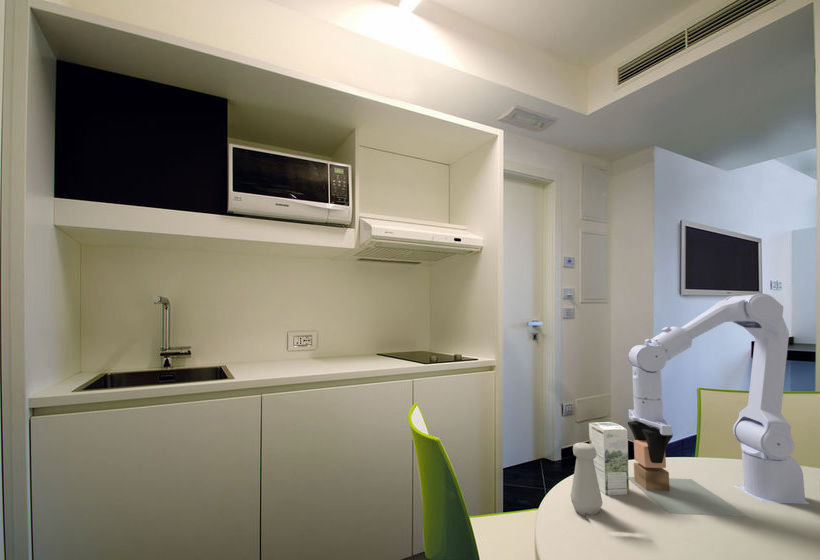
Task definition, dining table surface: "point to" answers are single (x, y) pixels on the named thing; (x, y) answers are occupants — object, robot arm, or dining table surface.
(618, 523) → the dining table surface
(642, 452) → the terracotta cube
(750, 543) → the dining table surface
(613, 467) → the syrup box
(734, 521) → the dining table surface
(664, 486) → the walnut block
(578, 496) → the salt shaker
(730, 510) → the slate board
